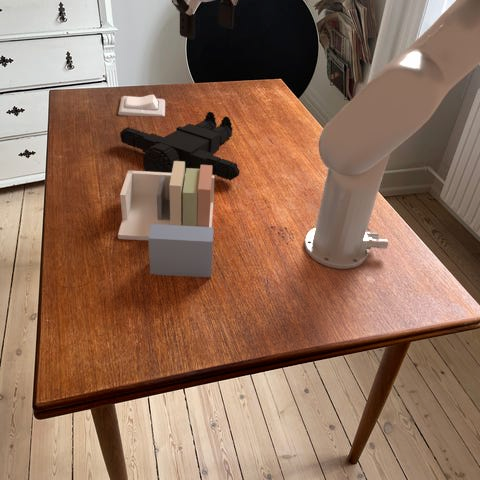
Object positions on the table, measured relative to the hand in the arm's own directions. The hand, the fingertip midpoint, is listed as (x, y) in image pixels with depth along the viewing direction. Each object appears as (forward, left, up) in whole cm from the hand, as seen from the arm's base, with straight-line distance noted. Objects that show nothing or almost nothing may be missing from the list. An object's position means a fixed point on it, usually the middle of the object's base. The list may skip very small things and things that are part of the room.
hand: (207, 32), depth 88 cm
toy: (+4, -17, -36) cm, 40 cm away
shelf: (+6, +9, -35) cm, 37 cm away
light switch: (+19, -43, -36) cm, 59 cm away
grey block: (+2, +24, -35) cm, 43 cm away
